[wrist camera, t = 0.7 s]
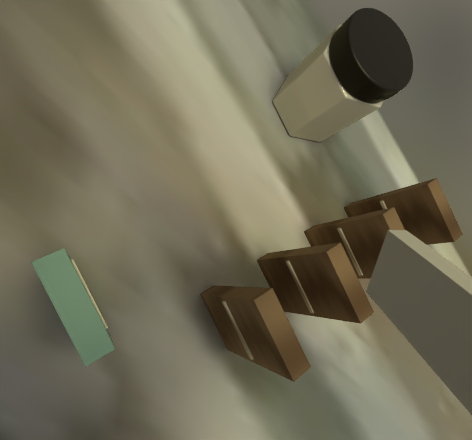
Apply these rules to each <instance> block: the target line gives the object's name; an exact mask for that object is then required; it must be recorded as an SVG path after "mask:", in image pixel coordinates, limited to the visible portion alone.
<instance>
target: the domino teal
mask: <svg viewBox="0 0 472 440" xmlns="http://www.w3.org/2000/svg"><path fill="white" fill-rule="evenodd" d="M31 263H32V265H33V267H34V268H35V270H36V272H37V274H38V276H39V278H40V280H41V282H42V284H43V286H44V288H45V290H46V292H47V294H48V296H49V297H50V299H51V301H52V303H53V305H54V307H55V309H56V311H57V313H58V315H59V317H60V319H61V321H62V323H63V325H64V326H65V328H66V330H67V332H68V334H69V336H70V338H71V340H72V342H73V344H74V346H75V348H76V350H77V352H78V354H79V356H80V357H81V359H82V361H83V363H84V365H85V367H86V366H88V365H90V364H91V363H93V362H95V361H96V360H98V359H100V358H101V357H103V356H105V355H106V354H108V353H109V352H111V351H113V350H114V349H115V347H114V344H113V342H112V340H111V338H110V336H109V333H108V331H107V328H108V326H107V324H106V323H105V321H104V319H103V317H102V315H101V313H100V311H99V309H98V307H97V305H96V303H95V301H94V299H93V297H92V295H91V293H90V291H89V289H88V287H87V285H86V283H85V281H84V279H83V278H82V276H81V274H80V272H79V270H78V268H77V266H76V264H75V262H74V260H71V258H70V257H69V255H68V254H67V252H66V250H65V249H64V248H63V249H61V250H58V251H56V252H54V253H51V254H49V255H47V256H44V257H42V258H40V259H37V260H35V261H33V262H31Z"/></svg>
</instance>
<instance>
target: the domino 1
mask: <svg viewBox="0 0 472 440" xmlns="http://www.w3.org/2000/svg"><path fill="white" fill-rule="evenodd" d="M200 295H201V297H202V299H203V301H204V303H205V305H206V307H207V309H208V311H209V313H210V315H211V317H212V319H213V321H214V323H215V325H216V327H217V329H218V331H219V333H220V335H221V337H222V339H223V341H224V343H225V345H226V347H227V349H228V350H229V351H231V352H233V353H235V354H237V355H239V356H242V357H244V358H246V359H248V360H250V361H252V362H254V363H256V364H258V365H260V366H262V367H264V368H266V369H269V370H271V371H273V372H275V373H277V374H279V375H281V376H283V377H285V378H287V379H289V380H291V381H295V380H296V379H298V378H299V377H300V376H301V375H302V374H303V373H304V372H306V371H307V370H308V369H309V368H310V367H311V366H310V364H309V362H308V360H307V358H306V356H305V354H304V352H303V350H302V348H301V346H300V344H299V341H298V339H297V337H296V335H295V333H294V331H293V329H292V327H291V325H290V323H289V321H288V319H287V317H286V315H285V313H284V311H283V309H282V307H281V305H280V303H279V300H278V298H277V296H276V294H275V292H274V290H273V288H259V287H233V286H213V287H211V288H210V289H208V290H206V291H205V292H203V293H201V294H200Z"/></svg>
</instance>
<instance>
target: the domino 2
mask: <svg viewBox="0 0 472 440" xmlns="http://www.w3.org/2000/svg"><path fill="white" fill-rule="evenodd" d="M388 230H405V229H404V227H403V225H402V223H401V221H400V219H399V216H398V214H397V212H396V210H395V208H394V207H391V208H387V209H383V210H379V211H374V212H370V213H366V214H362V215H358V216H353V217H349V218H345V219H341V220H336V221H332V222H328V223H324V224H320V225H315V226H313V227H311V228H309V229H308V230H306V231H304V232H305V234H306V237H307V239H308V241H309V243H310V245H311V247H313V246H320V245H327V244H334V243H341V244H342V246H343V248H344V250H345V253H346V255H347V257H348V259H349V261H350V263H351V265H352V267H353V269H354V271H355V274H356V276H357V278H371V276H372V274H373V271H374V268H375V265H376V262H377V259H378V257H379V254H380V251H381V248H382V245H383V243H384V240H385V237H386V234H387V231H388Z"/></svg>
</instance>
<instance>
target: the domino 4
mask: <svg viewBox="0 0 472 440" xmlns="http://www.w3.org/2000/svg"><path fill="white" fill-rule="evenodd" d="M391 207H394V208H395V210H396V212H397V214H398V216H399V219H400V221H401V223H402V225H403V227H404V229H405V230H407V231H408V232H409V233H411V234H412V235H414V236H415V237H416V238H418V239H419V240H421V241H422V242H423V243H425V244H426V245H428V244H437V243H447V242H455V240H457V239H458V238H459V237H460V236H461V235H462V232H461V230H460V228H459V225H458V224H457V221H456V219H455V217H454V215H453V212H452V210H451V208H450V206H449V204H448V202H447V199H446V197H445V195H444V193H443V191H442V189H441V186H440V184H439V182H438V180H437V178H435V179H432V180H429V181H425V182H422V183H418V184H415V185H411V186H408V187H405V188H401V189H398V190H394V191H391V192H387V193H384V194H381V195H377V196H374V197H370V198H367V199H363V200H360V201H357V202H353V203H351V204H349V205H348V206H346V207H344V208H345V211H346V213H347V215H348V217H353V216H358V215H362V214H366V213H370V212H374V211H379V210H383V209H387V208H391Z"/></svg>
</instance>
